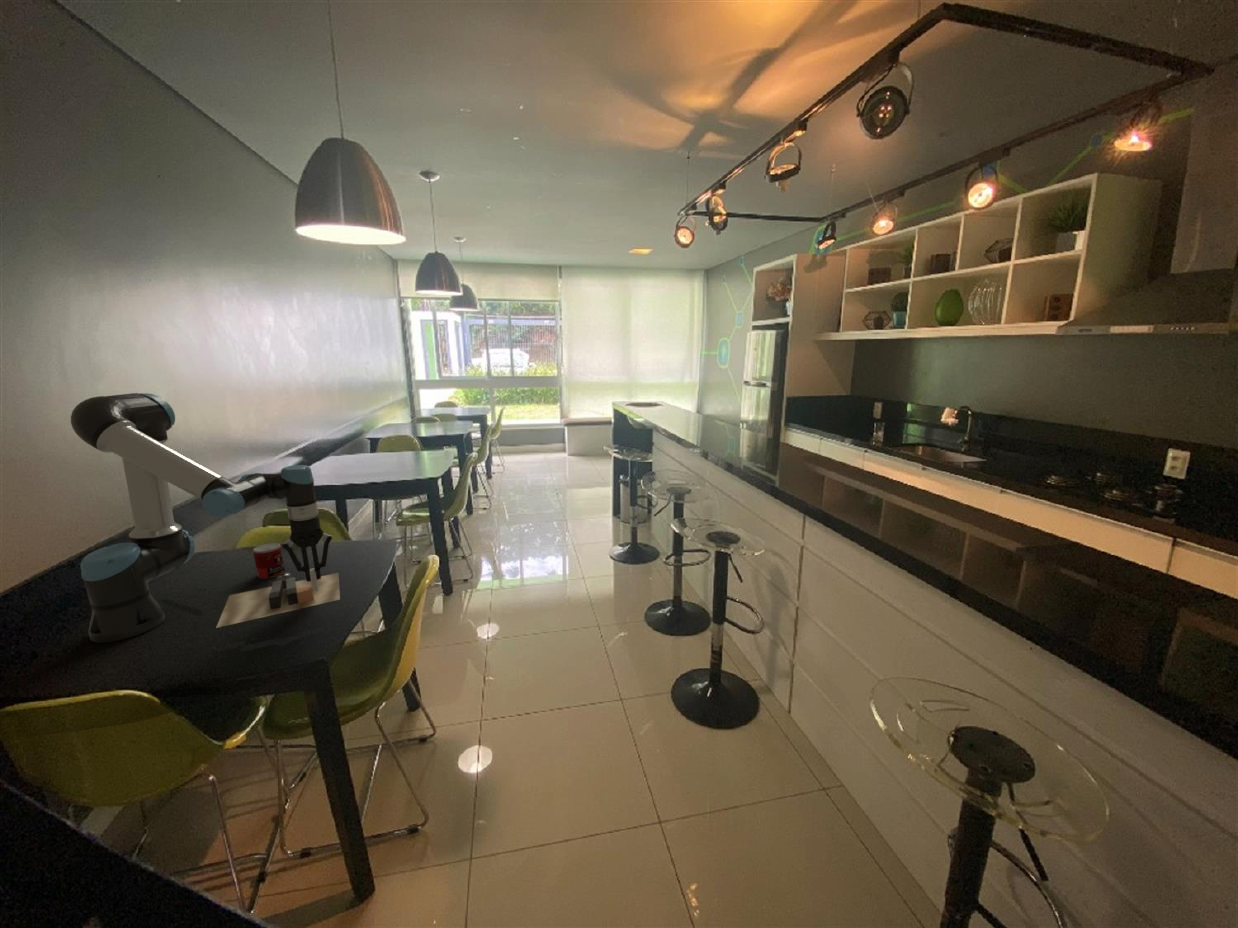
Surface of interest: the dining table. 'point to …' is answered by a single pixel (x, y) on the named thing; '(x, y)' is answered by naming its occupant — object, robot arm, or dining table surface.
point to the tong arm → (291, 591)
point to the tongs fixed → (278, 590)
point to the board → (258, 603)
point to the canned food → (268, 560)
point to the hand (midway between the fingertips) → (315, 589)
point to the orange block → (305, 594)
